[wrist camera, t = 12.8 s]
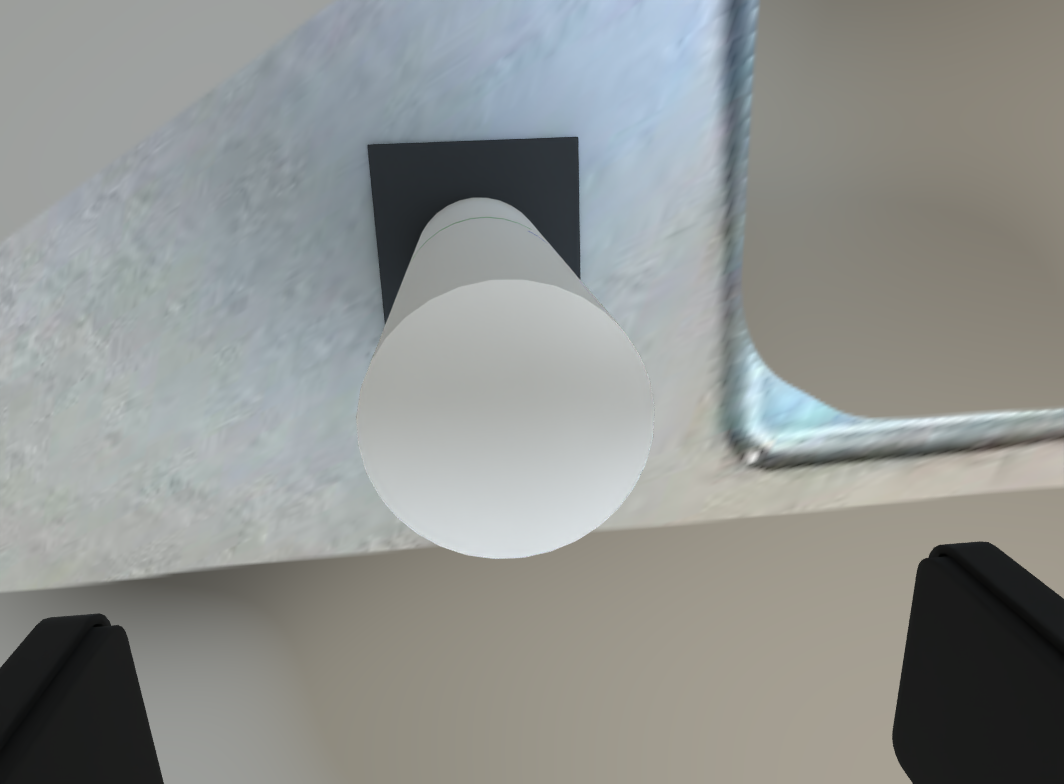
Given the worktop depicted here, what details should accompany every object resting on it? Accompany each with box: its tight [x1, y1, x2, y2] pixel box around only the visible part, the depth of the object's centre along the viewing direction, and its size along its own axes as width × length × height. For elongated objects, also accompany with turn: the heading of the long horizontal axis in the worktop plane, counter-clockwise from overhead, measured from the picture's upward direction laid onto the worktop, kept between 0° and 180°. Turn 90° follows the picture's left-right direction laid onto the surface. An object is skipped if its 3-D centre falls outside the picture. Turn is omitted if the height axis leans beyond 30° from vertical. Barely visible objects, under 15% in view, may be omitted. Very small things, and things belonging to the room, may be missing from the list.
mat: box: [368, 137, 580, 324], centre depth 42 cm, size 13×11×1 cm
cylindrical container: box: [356, 198, 655, 559], centre depth 30 cm, size 7×7×25 cm
